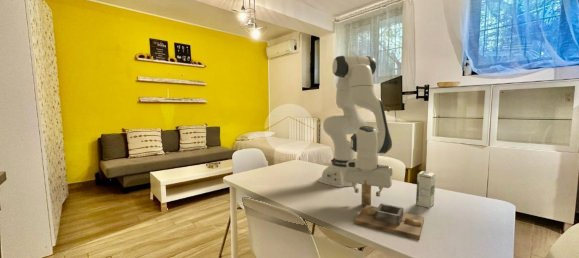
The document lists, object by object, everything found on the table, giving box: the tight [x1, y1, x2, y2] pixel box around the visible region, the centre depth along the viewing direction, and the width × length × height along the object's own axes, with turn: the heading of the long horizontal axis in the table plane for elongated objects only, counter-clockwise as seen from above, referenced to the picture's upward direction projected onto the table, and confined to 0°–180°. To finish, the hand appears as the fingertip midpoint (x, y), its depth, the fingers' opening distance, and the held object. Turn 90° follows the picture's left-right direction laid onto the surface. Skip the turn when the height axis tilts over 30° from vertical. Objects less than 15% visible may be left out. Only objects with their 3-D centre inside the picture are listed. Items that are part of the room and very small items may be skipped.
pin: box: [361, 180, 372, 207], centre depth 109 cm, size 4×4×12 cm
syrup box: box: [415, 170, 436, 209], centre depth 108 cm, size 6×6×14 cm
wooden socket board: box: [353, 203, 425, 241], centre depth 94 cm, size 22×16×5 cm
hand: (367, 194), depth 109 cm, fingers open, 8 cm apart
